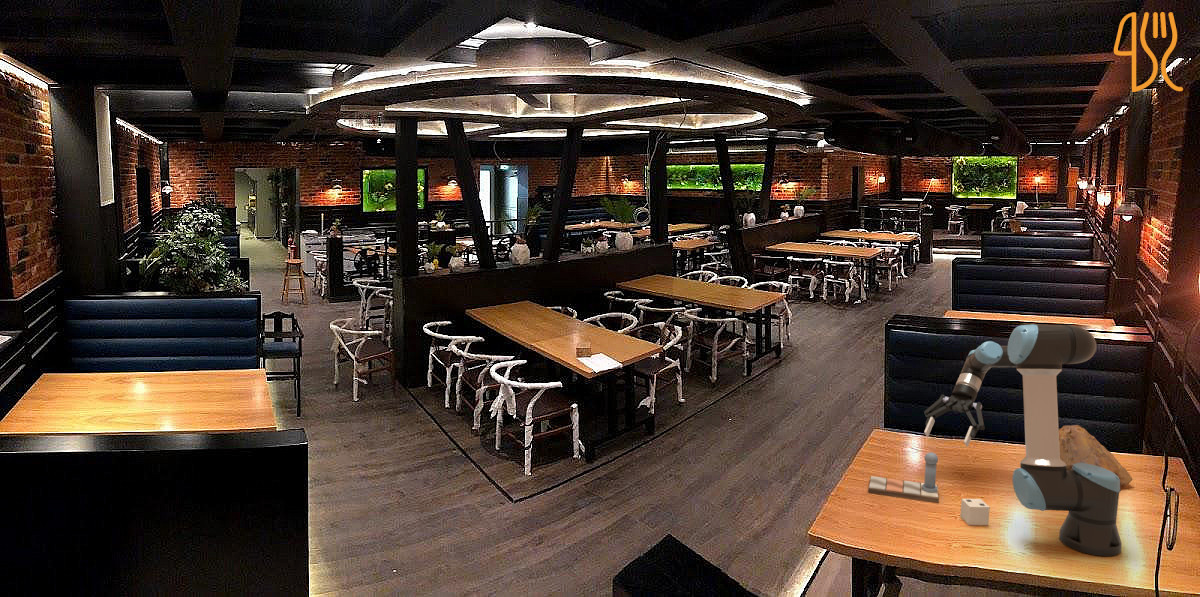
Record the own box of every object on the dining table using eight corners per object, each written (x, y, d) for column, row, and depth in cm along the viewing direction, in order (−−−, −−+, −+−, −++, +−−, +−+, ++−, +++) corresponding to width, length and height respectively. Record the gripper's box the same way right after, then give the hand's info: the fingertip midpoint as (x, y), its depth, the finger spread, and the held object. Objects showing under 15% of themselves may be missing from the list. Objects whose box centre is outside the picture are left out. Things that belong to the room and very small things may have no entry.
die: (988, 525, 226) (989, 506, 225) (968, 525, 226) (969, 506, 225) (979, 516, 232) (980, 498, 231) (960, 516, 232) (961, 498, 231)
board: (938, 502, 242) (938, 498, 242) (868, 492, 251) (868, 488, 251) (937, 489, 253) (937, 484, 253) (870, 479, 262) (870, 475, 261)
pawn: (937, 493, 245) (939, 456, 243) (921, 491, 247) (924, 454, 245) (937, 488, 250) (939, 451, 248) (921, 486, 251) (923, 449, 249)
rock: (1032, 443, 276) (1056, 412, 271) (1067, 455, 281) (1091, 424, 276) (1088, 495, 250) (1116, 462, 245) (1125, 507, 255) (1153, 475, 250)
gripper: (1006, 402, 254) (985, 454, 246) (934, 387, 272) (913, 435, 265) (1001, 390, 249) (980, 442, 242) (928, 376, 268) (907, 424, 260)
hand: (945, 439), depth 253 cm, fingers open, 13 cm apart
